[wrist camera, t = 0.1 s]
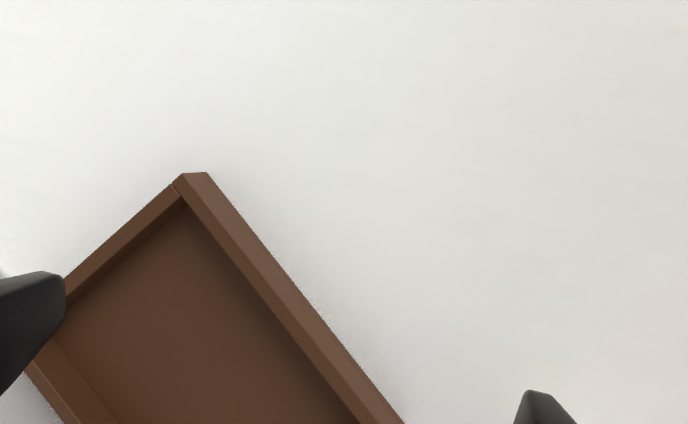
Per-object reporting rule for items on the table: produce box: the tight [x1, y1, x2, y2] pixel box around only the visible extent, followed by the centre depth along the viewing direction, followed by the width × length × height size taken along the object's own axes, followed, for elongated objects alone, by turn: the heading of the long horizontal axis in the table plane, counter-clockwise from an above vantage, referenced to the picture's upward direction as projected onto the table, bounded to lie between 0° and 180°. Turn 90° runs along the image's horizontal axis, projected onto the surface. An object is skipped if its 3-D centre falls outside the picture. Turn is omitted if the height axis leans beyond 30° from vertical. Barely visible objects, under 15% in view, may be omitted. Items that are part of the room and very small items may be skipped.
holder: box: [24, 172, 404, 424], centre depth 25 cm, size 14×17×3 cm
